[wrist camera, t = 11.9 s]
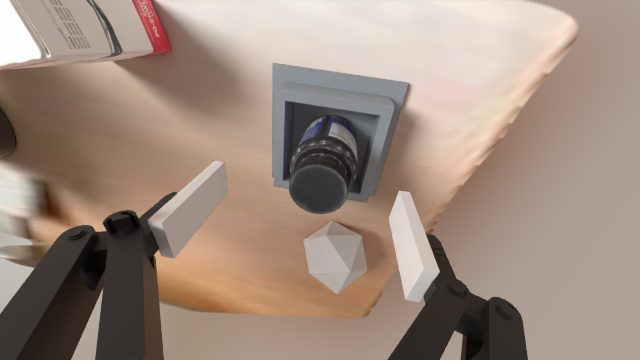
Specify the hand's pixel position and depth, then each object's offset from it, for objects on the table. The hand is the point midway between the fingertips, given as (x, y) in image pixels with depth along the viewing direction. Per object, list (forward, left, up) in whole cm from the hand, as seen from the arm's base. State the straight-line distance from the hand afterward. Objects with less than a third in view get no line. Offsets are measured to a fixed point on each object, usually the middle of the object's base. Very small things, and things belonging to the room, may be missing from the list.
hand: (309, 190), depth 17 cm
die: (+4, -16, -12) cm, 21 cm away
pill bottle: (+1, 0, -12) cm, 12 cm away
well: (0, 0, -12) cm, 12 cm away
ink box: (-23, +8, -12) cm, 27 cm away
